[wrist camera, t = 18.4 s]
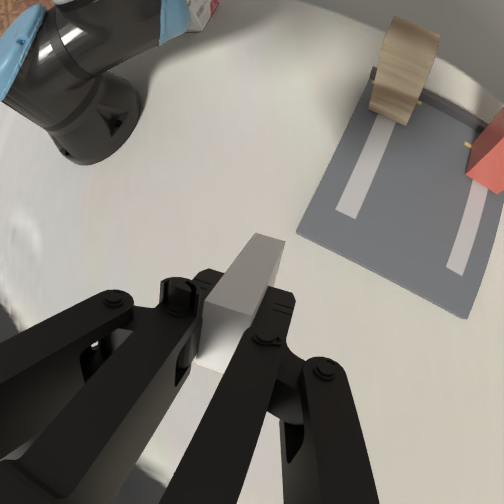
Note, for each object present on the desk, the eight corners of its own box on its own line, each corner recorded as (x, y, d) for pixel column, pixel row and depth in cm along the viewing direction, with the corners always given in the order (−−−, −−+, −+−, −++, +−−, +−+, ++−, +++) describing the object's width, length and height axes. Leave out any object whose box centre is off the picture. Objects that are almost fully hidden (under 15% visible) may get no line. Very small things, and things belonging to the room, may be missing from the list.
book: (8, 88, 54) (-68, 31, 25) (2, 78, 56) (-67, 27, 27) (78, 12, 54) (17, -60, 25) (66, 8, 56) (9, -56, 27)
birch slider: (405, 126, 34) (432, 63, 22) (368, 109, 35) (382, 42, 23) (415, 98, 34) (440, 35, 22) (379, 82, 35) (394, 16, 23)
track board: (461, 318, 31) (472, 319, 28) (296, 233, 36) (295, 227, 33) (507, 153, 32) (517, 144, 29) (370, 80, 37) (373, 66, 34)
